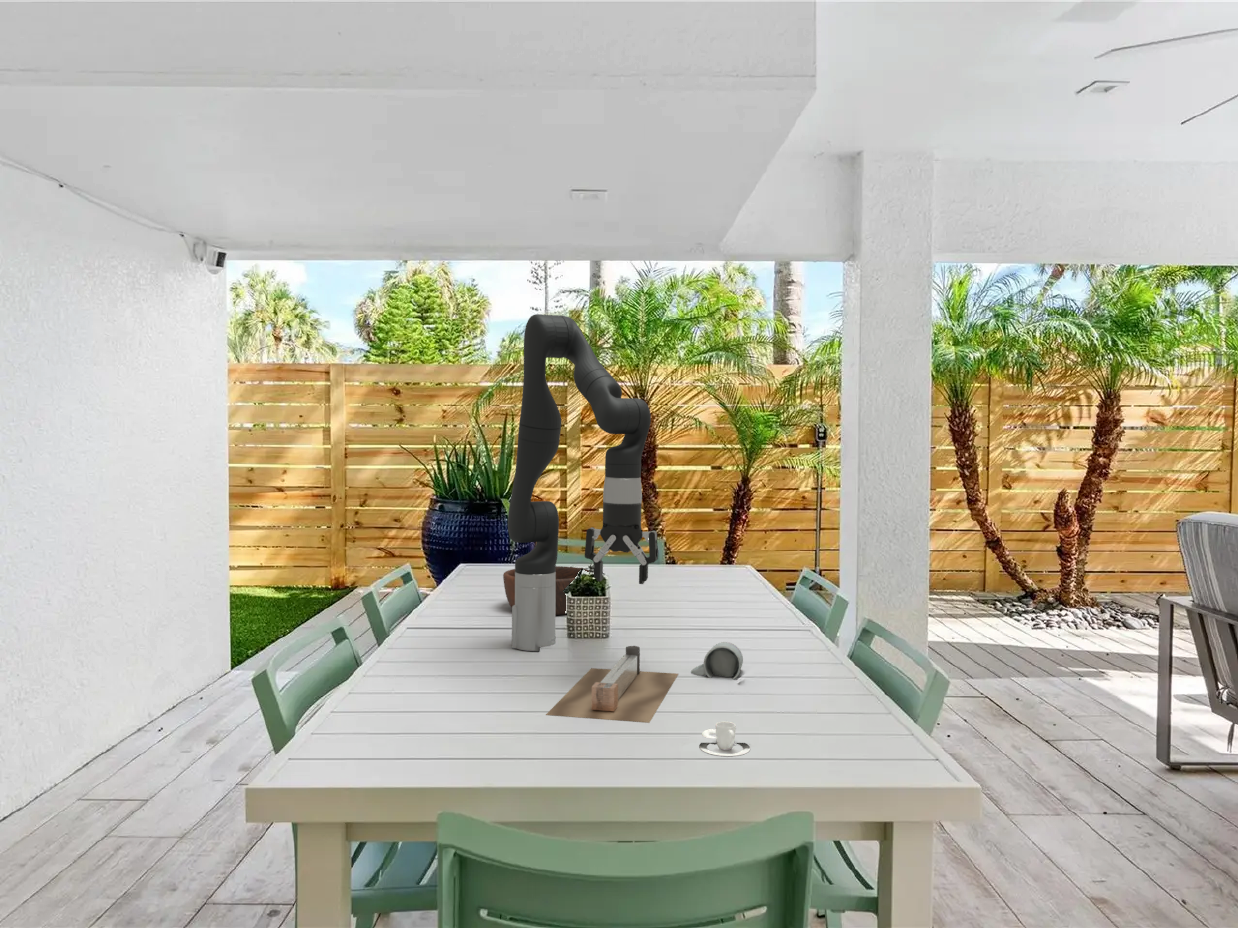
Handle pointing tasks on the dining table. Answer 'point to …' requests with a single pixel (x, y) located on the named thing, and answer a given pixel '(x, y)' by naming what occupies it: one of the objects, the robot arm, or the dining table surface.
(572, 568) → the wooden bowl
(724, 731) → the teacup and saucer
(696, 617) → the dining table surface
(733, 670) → the ceramic mug
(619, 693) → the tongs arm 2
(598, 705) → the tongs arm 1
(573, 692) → the walnut board
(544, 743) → the dining table surface
